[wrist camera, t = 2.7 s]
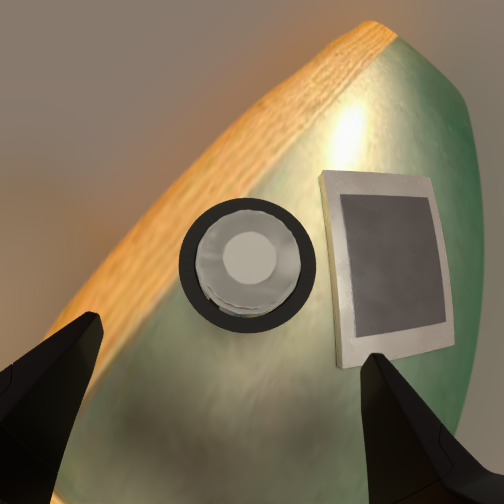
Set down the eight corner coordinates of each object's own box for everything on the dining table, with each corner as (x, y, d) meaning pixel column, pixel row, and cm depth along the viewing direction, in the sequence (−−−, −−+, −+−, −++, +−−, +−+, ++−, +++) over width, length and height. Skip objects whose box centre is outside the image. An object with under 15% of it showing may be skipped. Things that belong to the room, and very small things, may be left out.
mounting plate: (445, 344, 21) (455, 344, 19) (336, 366, 20) (343, 369, 18) (422, 182, 24) (431, 176, 22) (318, 177, 23) (323, 168, 21)
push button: (233, 219, 22) (237, 140, 12) (301, 255, 21) (356, 201, 12) (186, 303, 20) (147, 287, 10) (257, 341, 20) (282, 360, 10)
